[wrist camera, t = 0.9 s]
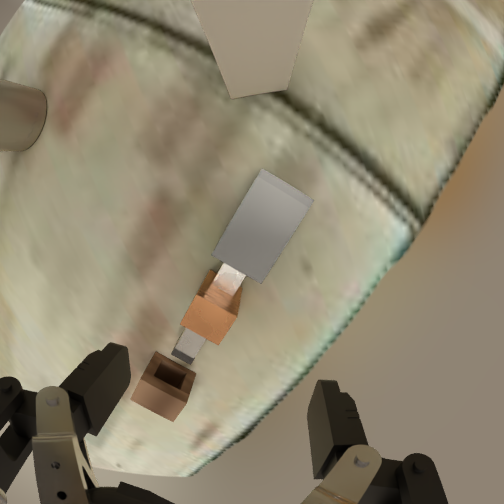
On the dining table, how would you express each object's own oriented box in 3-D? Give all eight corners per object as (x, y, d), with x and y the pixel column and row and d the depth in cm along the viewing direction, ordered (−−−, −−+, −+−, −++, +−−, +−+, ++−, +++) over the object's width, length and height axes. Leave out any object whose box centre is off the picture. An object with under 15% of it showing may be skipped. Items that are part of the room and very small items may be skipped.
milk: (231, 100, 27) (167, -38, 6) (221, 52, 25) (162, -95, 4) (288, 90, 26) (333, -57, 5) (276, 43, 25) (290, -112, 4)
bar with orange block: (173, 335, 33) (155, 369, 26) (260, 184, 29) (260, 185, 22) (201, 351, 34) (190, 387, 27) (294, 204, 29) (304, 212, 22)
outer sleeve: (219, 242, 31) (211, 255, 26) (261, 170, 29) (262, 168, 24) (261, 267, 31) (261, 283, 26) (305, 196, 29) (314, 200, 24)
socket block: (145, 372, 35) (130, 399, 30) (155, 351, 34) (140, 378, 29) (183, 392, 36) (173, 421, 30) (196, 373, 35) (186, 403, 29)
